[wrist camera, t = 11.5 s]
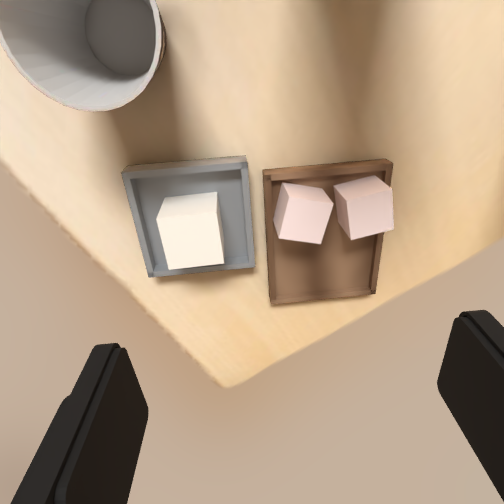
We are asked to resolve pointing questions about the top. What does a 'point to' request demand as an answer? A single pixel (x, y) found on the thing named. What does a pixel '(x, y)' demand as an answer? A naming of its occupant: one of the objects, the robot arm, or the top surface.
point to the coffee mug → (84, 48)
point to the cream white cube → (191, 230)
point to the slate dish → (187, 183)
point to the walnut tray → (333, 243)
